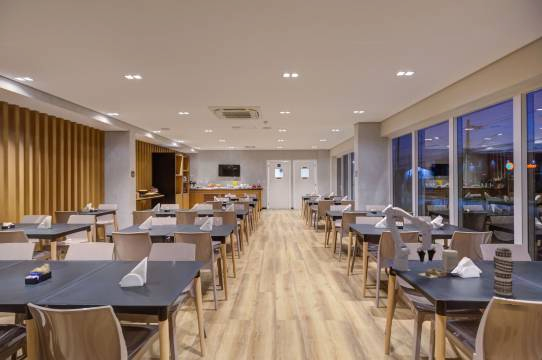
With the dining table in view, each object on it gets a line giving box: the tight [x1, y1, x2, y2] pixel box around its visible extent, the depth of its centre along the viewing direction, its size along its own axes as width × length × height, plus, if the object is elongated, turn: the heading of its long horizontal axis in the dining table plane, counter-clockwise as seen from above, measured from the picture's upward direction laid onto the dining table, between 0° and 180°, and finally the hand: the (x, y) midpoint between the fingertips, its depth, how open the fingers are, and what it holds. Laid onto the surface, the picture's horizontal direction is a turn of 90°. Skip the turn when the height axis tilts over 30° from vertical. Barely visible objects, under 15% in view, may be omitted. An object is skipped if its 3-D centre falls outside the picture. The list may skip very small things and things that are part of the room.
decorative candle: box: [493, 246, 514, 296], centre depth 183 cm, size 9×9×25 cm
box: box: [427, 268, 448, 278], centre depth 216 cm, size 9×7×3 cm
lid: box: [417, 270, 439, 280], centre depth 213 cm, size 9×7×4 cm
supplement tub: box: [441, 249, 459, 274], centre depth 224 cm, size 10×10×15 cm
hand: (426, 261), depth 215 cm, fingers open, 7 cm apart
